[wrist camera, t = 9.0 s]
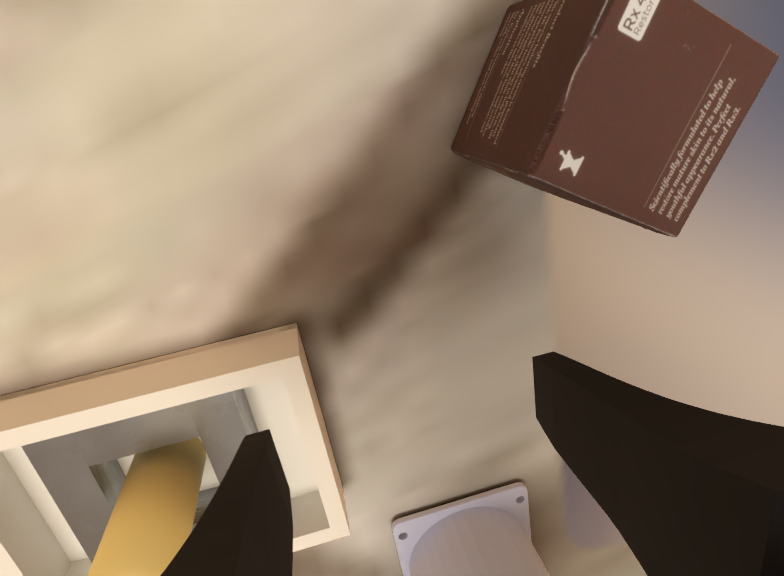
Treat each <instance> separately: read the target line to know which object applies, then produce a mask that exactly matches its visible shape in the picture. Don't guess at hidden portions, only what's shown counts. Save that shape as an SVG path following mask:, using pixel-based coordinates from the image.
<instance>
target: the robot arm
mask: <svg viewBox="0 0 784 576" xmlns="http://www.w3.org/2000/svg"><path fill="white" fill-rule="evenodd" d="M532 358H533V373H534V389H535V405H536V418H537V419H538V421H539V423H540V425H541V426H542V428H543V430H544V432H545V433H546V435H547V437H548V438H549V440H550V442H551V443H552V445H553V446H554V448H555V449H556V451H557V452H558V453H559V455H560V456H561V457H562V458H563V460H564V461H565V462H566V464H567V465H568V466H569V467H570V469H571V470H572V471H573V473H574V474H575V475H576V476H577V478H578V479H579V480H580V481H581V483H582V484H583V485H584V486H585V488H586V489H587V490H588V491H589V492H590V494H591V495H592V496H593V498H594V499H595V500H596V501H597V503H598V504H599V505H600V506H601V508H602V509H603V510H604V511H605V513H606V514H607V515H608V517H609V518H610V519H611V521H612V522H613V523H614V525H615V526H616V528H617V529H618V530H619V532H620V533H621V535H622V536H623V538H624V539H625V541H626V543H627V544H628V546H629V547H630V549H631V550H632V552H633V553H634V555H635V556H636V558H637V560H638V561H639V563H640V564H641V566H642V567H643V569H644V571H645V572H646V574H647V575H648V576H784V427H782V426H776V425H771V424H765V423H760V422H755V421H750V420H746V419H741V418H737V417H732V416H728V415H723V414H719V413H716V412H712V411H708V410H704V409H701V408H698V407H694V406H691V405H687V404H684V403H681V402H677V401H674V400H671V399H668V398H665V397H662V396H660V395H657V394H654V393H652V392H649V391H646V390H643V389H641V388H638V387H636V386H633V385H630V384H628V383H625V382H623V381H621V380H618V379H616V378H613V377H611V376H609V375H606V374H604V373H602V372H600V371H597V370H595V369H593V368H591V367H588V366H586V365H584V364H581V363H579V362H577V361H575V360H572V359H570V358H568V357H566V356H563V355H561V354H558V353H556V352H550V353H546V354H543V355H539V356H535V357H532ZM518 497H519V498H518ZM392 531H393V536H394V540H395V544H396V548H397V552H398V557H399V561H400V565H401V569H402V573H403V576H550V575H549V573H548V571H547V569H546V568H545V566H544V564H543V562H542V560H541V559H540V557H539V555H538V553H537V551H536V550H535V548H534V546H533V544H532V541H531V528H530V515H529V502H528V490H527V488H526V486H525V484H524V483H522V482H516V483H513V484H510V485H506V486H503V487H500V488H496V489H493V490H490V491H487V492H483V493H480V494H477V495H474V496H470V497H467V498H464V499H461V500H457V501H454V502H451V503H447V504H444V505H441V506H438V507H434V508H431V509H428V510H425V511H421V512H418V513H415V514H411V515H408V516H405V517H402V518H399V519H396V520H395V521H394V522H393V523H392ZM401 533H403V534H401ZM292 562H293V518H292V507H291V497H290V488H289V485H288V482H287V479H286V476H285V473H284V471H283V468H282V465H281V462H280V459H279V456H278V453H277V450H276V447H275V444H274V441H273V438H272V435H271V432H270V429H268V430H264V431H260V432H257V433H253V434H249V435H246V436H245V437H244V439H243V440H242V442H241V444H240V446H239V448H238V450H237V452H236V454H235V456H234V458H233V460H232V462H231V464H230V466H229V468H228V470H227V472H226V474H225V476H224V478H223V479H222V481H221V483H220V485H219V487H218V488H217V490H216V492H215V494H214V496H213V497H212V499H211V501H210V503H209V504H208V506H207V508H206V509H205V511H204V513H203V514H202V516H201V517H200V519H199V521H198V522H197V524H196V526H195V527H194V529H193V530H192V532H191V534H190V535H189V537H188V538H187V540H186V541H185V542H184V544H183V545H182V547H181V548H180V550H179V551H178V553H177V554H176V555H175V557H174V558H173V559H172V561H171V562H170V564H169V565H168V566H167V568H166V569H165V570H164V572H163V573H162V574H161V575H160V576H292Z"/></svg>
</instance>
